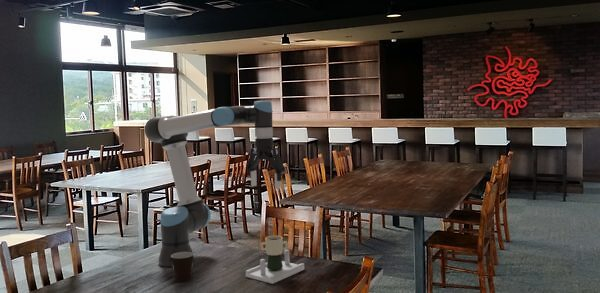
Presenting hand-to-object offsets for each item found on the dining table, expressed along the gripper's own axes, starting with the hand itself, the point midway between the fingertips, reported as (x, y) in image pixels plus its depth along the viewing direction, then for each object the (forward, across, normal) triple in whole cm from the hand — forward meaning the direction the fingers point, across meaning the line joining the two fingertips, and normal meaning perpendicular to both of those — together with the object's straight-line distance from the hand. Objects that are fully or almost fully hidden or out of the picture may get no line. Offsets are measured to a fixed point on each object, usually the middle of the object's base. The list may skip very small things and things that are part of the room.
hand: (265, 187), depth 225 cm
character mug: (+31, -12, +9) cm, 35 cm away
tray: (+33, -12, +9) cm, 36 cm away
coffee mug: (+33, +14, +34) cm, 49 cm away
